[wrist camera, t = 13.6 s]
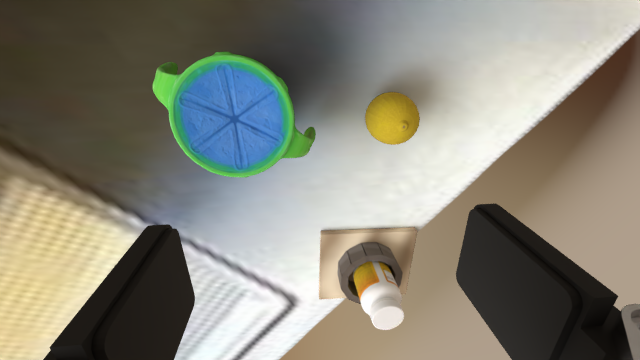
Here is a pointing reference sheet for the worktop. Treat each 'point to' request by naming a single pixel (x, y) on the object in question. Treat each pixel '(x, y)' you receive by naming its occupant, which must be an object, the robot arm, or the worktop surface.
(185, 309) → the robot arm
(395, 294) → the supplement bottle
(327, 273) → the collar board
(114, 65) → the worktop surface
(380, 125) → the lemon
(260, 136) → the snack cup
